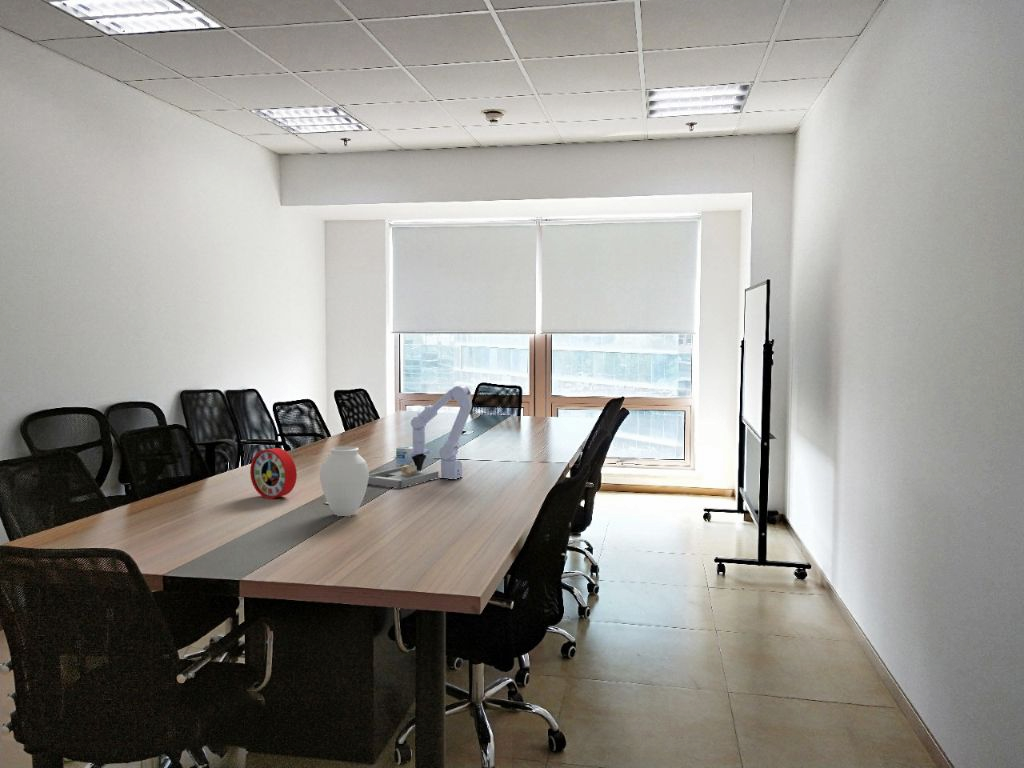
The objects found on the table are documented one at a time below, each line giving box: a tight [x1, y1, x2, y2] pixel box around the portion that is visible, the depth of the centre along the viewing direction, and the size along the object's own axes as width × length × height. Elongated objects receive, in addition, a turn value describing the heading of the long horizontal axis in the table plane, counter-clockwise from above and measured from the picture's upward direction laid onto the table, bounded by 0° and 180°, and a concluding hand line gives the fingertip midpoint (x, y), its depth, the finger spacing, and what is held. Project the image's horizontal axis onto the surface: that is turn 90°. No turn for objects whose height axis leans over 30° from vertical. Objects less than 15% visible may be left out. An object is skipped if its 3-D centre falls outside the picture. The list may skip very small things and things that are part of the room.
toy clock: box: [249, 447, 298, 499], centre depth 316 cm, size 20×6×20 cm, turn 62°
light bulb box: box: [395, 445, 415, 468], centre depth 385 cm, size 11×7×11 cm, turn 73°
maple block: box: [401, 465, 418, 476], centre depth 357 cm, size 5×5×4 cm
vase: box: [319, 445, 370, 517], centre depth 286 cm, size 18×18×25 cm
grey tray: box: [367, 467, 439, 489], centre depth 352 cm, size 22×28×4 cm
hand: (418, 470), depth 364 cm, fingers closed
